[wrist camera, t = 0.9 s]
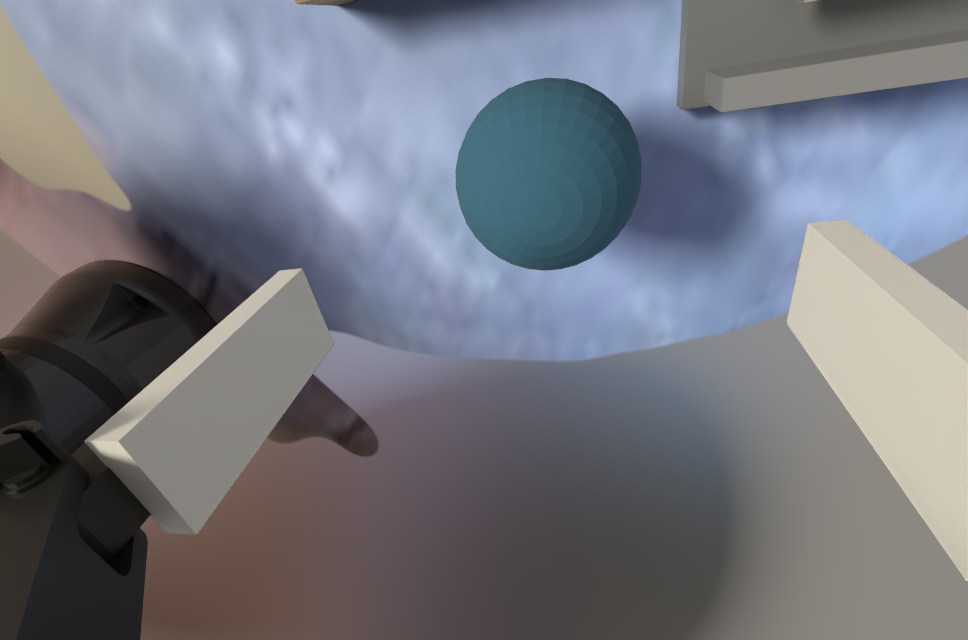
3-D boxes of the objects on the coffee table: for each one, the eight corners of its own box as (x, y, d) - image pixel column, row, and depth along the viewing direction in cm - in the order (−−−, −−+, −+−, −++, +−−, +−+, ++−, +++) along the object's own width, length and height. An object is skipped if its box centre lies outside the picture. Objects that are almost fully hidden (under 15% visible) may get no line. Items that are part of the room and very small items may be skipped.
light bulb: (596, 31, 24) (612, 42, 14) (643, 176, 28) (680, 264, 18) (459, 105, 27) (396, 156, 18) (518, 227, 31) (492, 326, 21)
